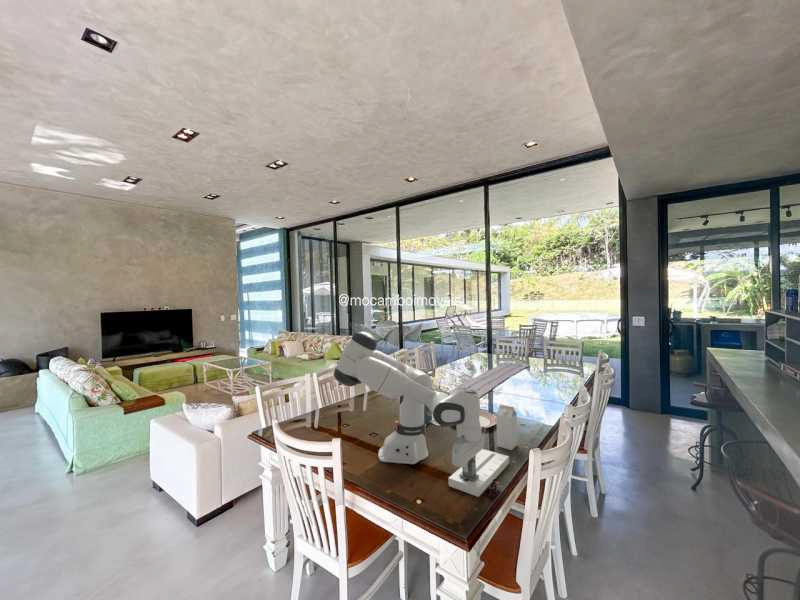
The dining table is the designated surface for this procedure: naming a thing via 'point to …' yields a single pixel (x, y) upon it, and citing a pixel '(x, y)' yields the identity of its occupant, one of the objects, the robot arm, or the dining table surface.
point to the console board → (480, 473)
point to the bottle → (426, 410)
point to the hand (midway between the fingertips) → (468, 468)
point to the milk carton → (506, 427)
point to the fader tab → (470, 471)
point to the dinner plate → (487, 419)
